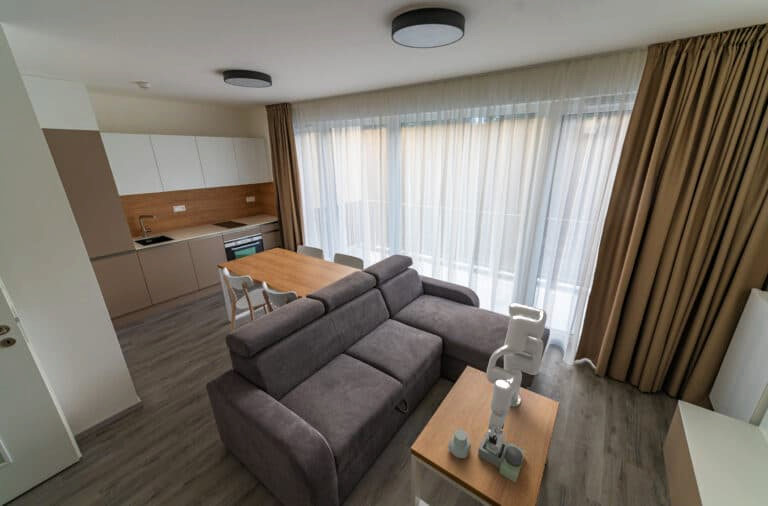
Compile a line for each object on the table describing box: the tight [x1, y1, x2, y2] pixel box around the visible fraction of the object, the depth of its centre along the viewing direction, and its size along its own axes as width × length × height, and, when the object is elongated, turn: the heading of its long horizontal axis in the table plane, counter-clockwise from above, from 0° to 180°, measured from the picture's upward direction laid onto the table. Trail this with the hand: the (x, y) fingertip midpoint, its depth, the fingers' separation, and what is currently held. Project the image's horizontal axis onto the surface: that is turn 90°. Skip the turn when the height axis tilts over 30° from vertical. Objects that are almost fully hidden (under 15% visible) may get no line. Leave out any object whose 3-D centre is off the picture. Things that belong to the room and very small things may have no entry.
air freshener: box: [448, 429, 472, 459], centre depth 135 cm, size 11×8×10 cm
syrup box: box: [484, 428, 505, 458], centre depth 132 cm, size 6×6×14 cm
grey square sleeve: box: [477, 431, 526, 484], centre depth 132 cm, size 14×17×7 cm
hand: (496, 434), depth 131 cm, fingers open, 9 cm apart
